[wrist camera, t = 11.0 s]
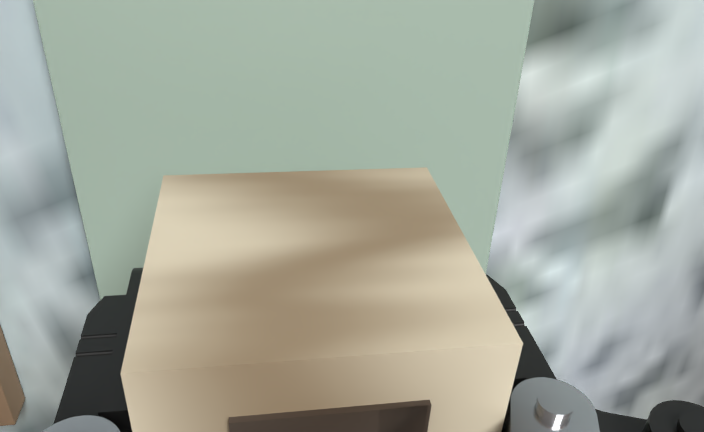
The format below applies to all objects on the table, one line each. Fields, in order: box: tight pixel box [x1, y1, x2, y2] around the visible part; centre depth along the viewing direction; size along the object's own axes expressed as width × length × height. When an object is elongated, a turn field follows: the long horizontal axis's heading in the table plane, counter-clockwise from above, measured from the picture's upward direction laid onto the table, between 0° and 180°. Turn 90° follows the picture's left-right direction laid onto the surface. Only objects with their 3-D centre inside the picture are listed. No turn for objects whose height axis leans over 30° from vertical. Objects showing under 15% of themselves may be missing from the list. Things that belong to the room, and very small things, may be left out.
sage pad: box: [33, 0, 534, 300], centre depth 17 cm, size 11×11×1 cm
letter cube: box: [121, 167, 523, 432], centre depth 11 cm, size 5×5×5 cm
